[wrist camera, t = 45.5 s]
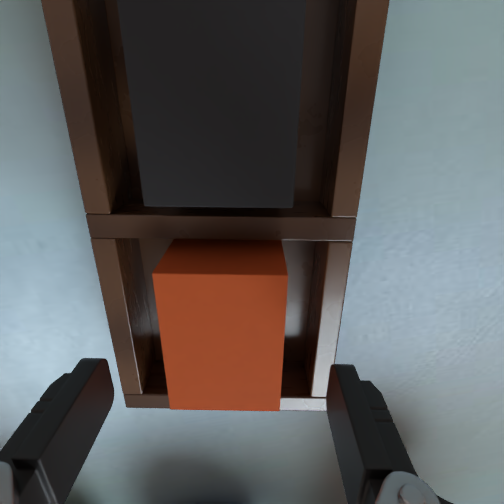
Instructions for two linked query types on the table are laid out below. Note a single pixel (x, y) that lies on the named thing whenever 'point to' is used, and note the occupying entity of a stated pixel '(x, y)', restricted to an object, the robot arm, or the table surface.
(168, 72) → the black rectangular block
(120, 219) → the frame
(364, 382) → the robot arm
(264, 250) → the orange block
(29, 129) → the table surface
